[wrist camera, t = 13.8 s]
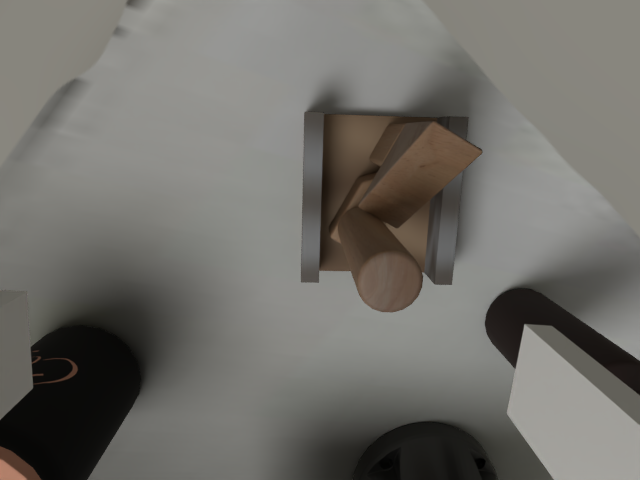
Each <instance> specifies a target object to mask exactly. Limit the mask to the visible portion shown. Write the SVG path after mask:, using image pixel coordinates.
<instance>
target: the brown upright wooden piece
mask: <svg viewBox="0 0 640 480" xmlns="http://www.w3.org/2000/svg"><path fill="white" fill-rule="evenodd" d="M481 154H482V150H481V149H480V148H478V147H476V146H475V145H473V144H472V143H470V142H468V141H467V140H465V139H463V138H462V137H460V136H459V135H457V134H455V133H454V132H452V131H450V130H449V129H447V128H446V127H444V126H442V125H441V124H439V123H437V122H436V121H426V122H413V123H403V124H389V125H388V126H387V127H386V129H385V131H384V132H383V134H382V136H381V137H380V139H379V141H378V143H377V144H376V146H375V148H374V150H373V151H372V153H371V155H370V158H369V159H370V161H371V162H373V163H374V164H376V165H378V166H379V167H380V169H379V170H378V172H376V173H372V174H369V175H365V176H361V177H359V178H357V179H356V181H355V182H354V184H353V186H352V188H351V189H350V191H349V193H348V194H347V196H346V198H345V200H344V201H343V203H342V205H341V207H340V208H339V210H338V212H337V213H336V215H335V217H334V219H333V220H332V222H331V224H330V225H329V228H328V231H329V234H330V237H331V239H333V240H334V241H336V242H338V243H340V244H342V247H343V250H344V253H345V255H346V258H347V261H348V264H349V267H350V270H351V273H352V276H353V278H354V281H355V284H356V287H357V290H358V293H359V295H360V297H361V298H362V300H363V301H364V303H366V304H367V305H368V306H370V307H371V308H372V309H375V310H378V311H381V312H396V311H399V310H403V309H404V308H406V307H408V306H409V305H411V304H412V303H413V301H414V300H415V299H416V298H417V297H418V295H419V293H420V290H421V288H422V282H423V275H422V271H421V267H420V266H419V264H418V262H417V261H416V259H415V258H414V257H413V256H412V255H411V254H410V252H409V251H408V250H407V249H406V248H405V247H404V246H403V244H402V243H401V242H400V241H399V240H398V239H397V238H396V237H395V235H394V234H393V233H392V232H391V231H390V230H389V229H388V227H387V226H386V225H385V224H386V223H387V224H389V225H391V226H393V227H394V228H397V229H398V228H399V227H400V226H402V225H403V224H404V223H405V222H406V221H407V220H408V219H409V218H410V217H412V216H413V215H414V214H415V213H416V212H417V211H418V210H419V209H421V208H422V207H423V206H424V205H425V204H426V203H427V202H428V201H429V200H431V199H432V198H433V197H434V196H435V195H436V194H437V193H438V192H439V191H441V190H442V189H443V188H444V187H445V186H446V185H447V184H448V183H449V182H451V181H452V180H453V179H454V178H455V177H456V176H457V175H458V174H460V173H461V172H462V171H463V170H464V169H465V168H466V167H467V166H468V165H470V164H471V163H472V162H473V161H474V160H475V159H476V158H477V157H478V156H480V155H481Z"/></svg>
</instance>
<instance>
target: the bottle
mask: <svg viewBox="0 0 640 480" xmlns="http://www.w3.org/2000/svg"><path fill="white" fill-rule="evenodd" d="M525 324H531V325H546V326H553V327H554V328H555V329H557V330H558V331H559V332H560V333H562V334H563V335H564V336H565V337H567V338H568V339H569V340H570V341H572V342H573V343H574V344H575V345H577V346H578V347H579V348H580V349H582V350H583V351H584V352H586V353H587V354H588V355H589V356H591V357H592V358H593V359H594V360H596V361H597V362H598V363H599V364H601V365H602V366H603V367H604V368H606V369H607V370H608V371H610V372H611V373H612V374H613V375H615V376H616V377H617V378H618V379H620V380H621V381H622V382H623V383H625V384H626V385H627V386H628V387H630V388H631V389H632V390H634V391H635V392H636V393H637V394H639V395H640V361H639V360H638V359H636V358H635V357H633V356H632V355H630V354H629V353H627V352H626V351H624V350H623V349H621V348H620V347H619V346H617V345H616V344H614V343H613V342H611V341H610V340H608V339H607V338H605V337H604V336H602V335H601V334H599V333H598V332H597V331H595V330H594V329H592V328H591V327H589V326H588V325H586V324H585V323H583V322H582V321H580V320H579V319H578V318H576V317H575V316H573V315H572V314H570V313H569V312H567V311H566V310H564V309H563V308H561V307H560V306H558V305H557V304H556V303H554V302H553V301H551V300H550V299H548V298H547V297H545V296H544V295H542V294H541V293H539V292H536V291H534V290H531V289H515V290H511V291H508V292H506V293H504V294H502V295H501V296H499V297H498V298H497V299H496V300H495V301H494V302H493V303H492V304H491V306H490V308H489V310H488V312H487V314H486V321H485V327H486V332H487V335H488V337H489V339H490V340H491V342H492V343H493V345H494V346H495V347H496V348H497V349H498V350H499V351H500V352H501V354H502V355H503V356H504V357H505V358H506V359H507V360H508V361H509V362H510V364H511V365H512V366H513V367H514V368H515V369H516V365H517V360H518V355H519V350H520V345H521V340H522V335H523V330H524V325H525Z"/></svg>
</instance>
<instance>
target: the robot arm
mask: <svg viewBox="0 0 640 480" xmlns="http://www.w3.org/2000/svg"><path fill="white" fill-rule="evenodd" d="M32 389H33V378H32V362H31V347H30V331H29V316H28V301H27V291H11V290H0V420H1V419H2V418H3V417H4V416H5V415H6V414H7V413H8V412H9V411H10V410H11V409H12V408H13V407H14V406H15V405H16V404H17V403H18V402H19V401H20V400H21V399H22V398H23V397H24V396H25V395H26V394H27V393H28V392H30V391H31V390H32ZM507 415H508V416H509V418H510V419H511V420H512V422H513V423H514V425H515V426H516V427H517V429H518V430H519V432H520V433H521V434H522V436H523V437H524V439H525V440H526V441H527V443H528V444H529V446H530V447H531V448H532V450H533V451H534V452H535V454H536V455H537V457H538V458H539V459H540V461H541V462H542V464H543V465H544V466H545V468H546V469H547V471H548V472H549V473H550V475H551V476H552V478H553V479H554V480H640V395H639V394H637V393H636V392H635V391H634V390H632V389H631V388H630V387H628V386H627V385H626V384H625V383H623V382H622V381H621V380H620V379H618V378H617V377H616V376H615V375H613V374H612V373H611V372H610V371H608V370H607V369H606V368H604V367H603V366H602V365H601V364H599V363H598V362H597V361H596V360H594V359H593V358H592V357H591V356H589V355H588V354H587V353H586V352H584V351H583V350H582V349H580V348H579V347H578V346H577V345H575V344H574V343H573V342H572V341H570V340H569V339H568V338H567V337H565V336H564V335H563V334H562V333H560V332H559V331H558V330H557V329H555V328H554V327H553V326H546V325H531V324H525V325H524V330H523V335H522V340H521V345H520V350H519V355H518V360H517V365H516V370H515V375H514V380H513V385H512V389H511V394H510V399H509V404H508V409H507ZM353 480H498V477H497V474H496V471H495V469H494V467H493V465H492V463H491V461H490V460H489V458H488V456H487V454H486V453H485V451H484V449H483V448H482V446H481V445H480V444H479V443H478V442H477V441H476V440H475V439H474V438H473V437H471V436H470V435H469V434H467V433H466V432H464V431H462V430H460V429H458V428H455V427H453V426H450V425H446V424H441V423H429V422H428V423H416V424H410V425H406V426H403V427H400V428H397V429H395V430H393V431H391V432H389V433H387V434H385V435H384V436H382V437H381V438H379V439H378V440H377V441H376V442H374V443H373V444H372V445H371V446H370V447H369V448H368V449H367V451H366V452H365V453H364V454H363V456H362V457H361V459H360V461H359V463H358V465H357V467H356V470H355V473H354V477H353Z"/></svg>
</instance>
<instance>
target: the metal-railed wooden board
mask: <svg viewBox="0 0 640 480" xmlns="http://www.w3.org/2000/svg"><path fill="white" fill-rule="evenodd" d="M426 121H436V122H437V123H439V124H441V125H442V126H444V127H446V128H447V129H449V130H450V131H452V132H454V133H455V134H457V135H459V136H460V137H462V138H463V139H465V140H466V137H467V127H468V117H440V118H430V117H399V116H368V115H337V114H324V112H305V114H304V161H303V207H302V254H301V282H316V283H319V271H351V270H350V267H349V264H348V261H347V258H346V255H345V253H344V250H343V247H342V244H340V243H338V242H336V241H334V240H333V239H331V237H330V234H329V231H328V228H329V225H330V224H331V222H332V220H333V219H334V217H335V215H336V213H337V212H338V210H339V208H340V207H341V205H342V203H343V201H344V200H345V198H346V196H347V194H348V193H349V191H350V189H351V188H352V186H353V184H354V182H355V181H356V179H357V178H359V177H361V176H365V175H369V174H372V173H376V172H378V170H379V169H380V167H379V166H378V165H376V164H374V163H373V162H371V161H370V159H369V158H370V155H371V153H372V151H373V150H374V148H375V146H376V144H377V143H378V141H379V139H380V137H381V136H382V134H383V132H384V131H385V129H386V127H387V126H388V125H389V124H403V123H413V122H426ZM462 177H463V171H462V172H461V173H460V174H458V175H457V176H456V177H455V178H454V179H453V180H452V181H451V182H449V183H448V184H447V185H446V186H445V187H444V188H443V189H442V190H441V191H439V192H438V193H437V194H436V195H435V196H434V197H433V198H432V199H431V200H429V201H428V202H427V203H426V204H425V205H424V206H423V207H422V208H421V209H419V210H418V211H417V212H416V213H415V214H414V215H413V216H412V217H410V218H409V219H408V220H407V221H406V222H405V223H404V224H403V225H402V226H400V227H399V228H398V229H397V228H394V227H393V226H391V225H389V224H387V223H386V224H385V225H386V226H387V227H388V229H389V230H390V231H391V232H392V233H393V234H394V235H395V237H396V238H397V239H398V240H399V241H400V242H401V243H402V244H403V246H404V247H405V248H406V249H407V250H408V251H409V252H410V254H411V255H412V256H413V257H414V258H415V259H416V261H417V262H418V264H419V266H420V267H421V271H422V272H424V273H425V274H426V275H427V276H428V277H429V279H430V280H431V281H432V282H433V283H434V284H437V285H452V277H453V267H454V257H455V247H456V237H457V227H458V217H459V207H460V197H461V187H462Z"/></svg>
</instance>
